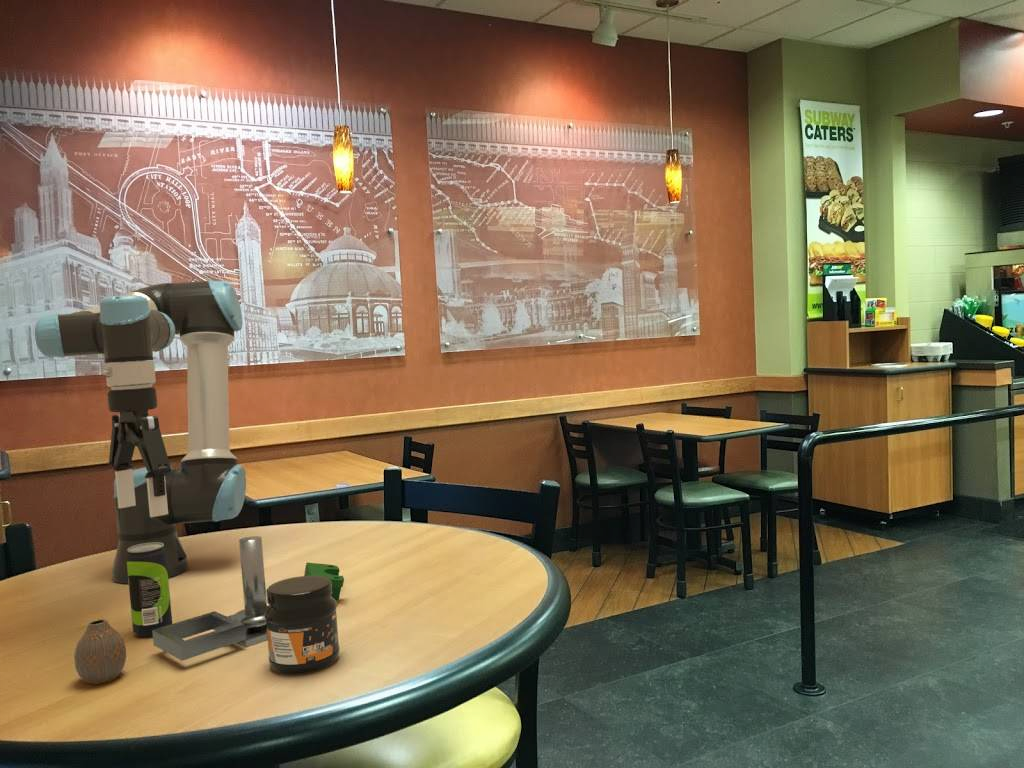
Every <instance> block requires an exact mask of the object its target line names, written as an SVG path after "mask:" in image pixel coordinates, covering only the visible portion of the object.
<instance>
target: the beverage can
mask: <svg viewBox="0 0 1024 768" xmlns="http://www.w3.org/2000/svg"><path fill="white" fill-rule="evenodd" d="M163 546H164V544H163V543H160V542H151V543H143V544H138V545H135V546H132V547H129V548H128V549H127V551H128V554H127V556H126V559H127V570H128V581H129V583H128V591H129V601H130V612H131V621H132V622H131V623H132V632H133V633H134V634H136V635H135V636H137V637H139V638H153V632H152V630H154V629H157V628H161V627H164V626H167V625H171V624H173V616H172V615H173V614H172V605H171V594H170V593H171V592H170V583H169V578H168V569H167V558H166V549H165V548H164V547H163Z"/></svg>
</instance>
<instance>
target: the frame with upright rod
mask: <svg viewBox="0 0 1024 768" xmlns="http://www.w3.org/2000/svg"><path fill="white" fill-rule="evenodd" d="M238 542H239V543H238V544H239V555H240V566H241V567H240V569H241V579H242V580H241V583H242V593H243V594H242V595H243V605H244V609H242V610H239V611H237V612H235V613H234V614H230V615H227V616H226V615H224V614H222V613H220V612H217V611H210V612H208V613H204V614H201V615H198V616H193V617H191V618H187V619H183V620H180V621H177V622H174V623H172V624H171V625H167V626H164V627H161V628H157V629H154V630H152V632H153V637H152V642H153V646H154V647H156V648H158V649H159V650H161V651H164V653H167V654H169V655H170V656H173V657H174V658H176V659H178V660H180V661H181V662H182V661H185V660H188V659H192V658H194V657H197V656H201V655H204V654H207V653H210V652H213V651H215V650H219V649H221V648H224V647H227V646H230V645H233V644H235V643H238V644H240V645H242V646H244V647H245V648H248V647H250V646H253V645H256V644H258V643H261V642H265V641H268V638H267V626H266V619H265V610H266V608H267V607H268V603H267V593H266V591H267V589H266V577H265V567H264V564H265V563H264V552H263V551H264V550H263V539H262V537H261V536H258V535H257V536H256V535H255V536H245V537H242V538H240V539H239V540H238ZM212 630H213V631H212ZM208 631H211V632H208ZM205 632H207V633H205ZM201 633H204V634H201ZM198 634H201V635H198ZM196 635H198V636H196ZM193 636H195V637H193ZM189 637H191V638H189ZM187 638H188V639H187Z"/></svg>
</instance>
